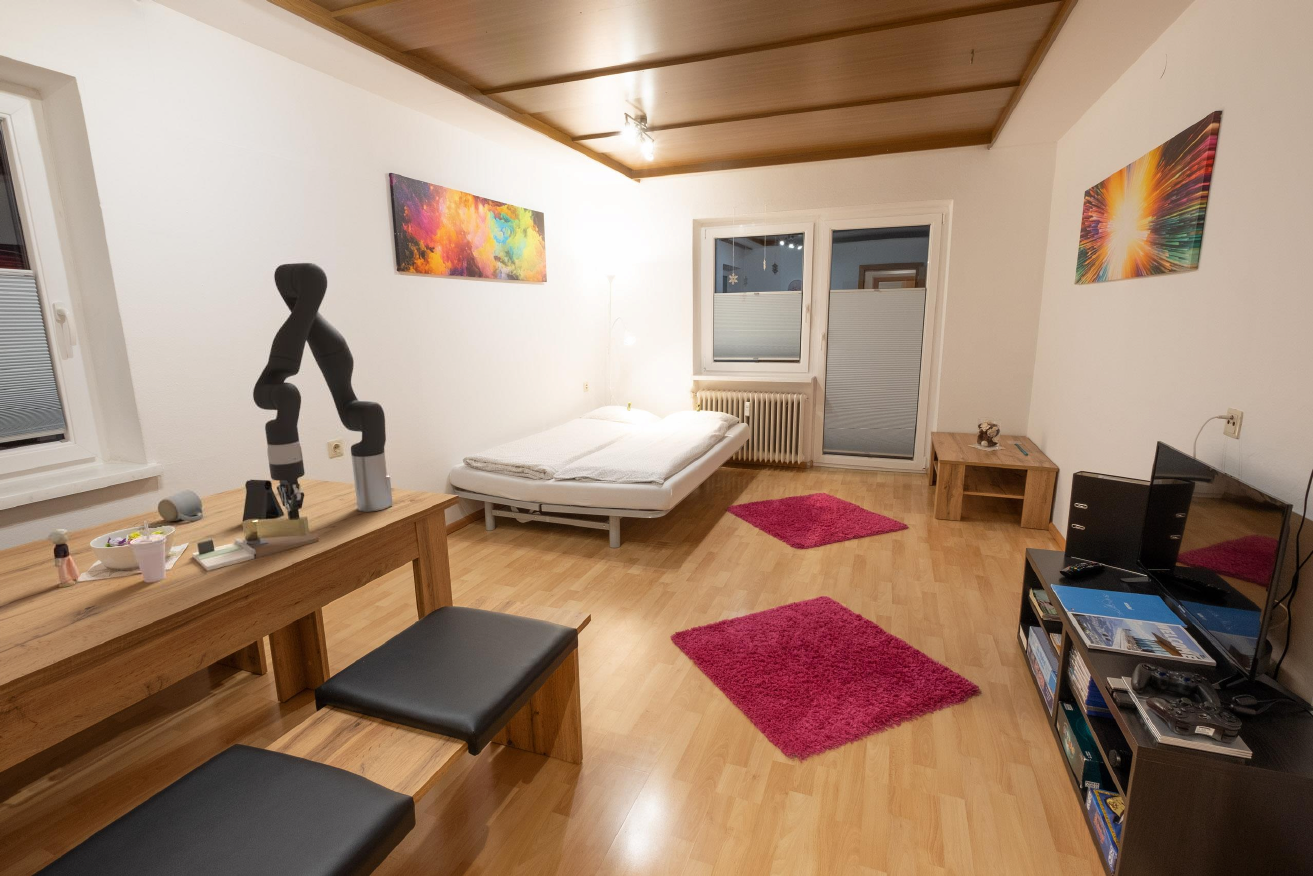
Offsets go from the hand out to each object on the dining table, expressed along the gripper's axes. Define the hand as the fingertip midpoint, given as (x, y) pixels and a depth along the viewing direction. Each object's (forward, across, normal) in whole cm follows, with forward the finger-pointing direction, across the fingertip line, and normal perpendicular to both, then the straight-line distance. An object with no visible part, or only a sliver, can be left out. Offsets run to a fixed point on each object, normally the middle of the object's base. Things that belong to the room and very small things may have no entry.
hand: (294, 523), depth 159 cm
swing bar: (+2, 0, +4) cm, 5 cm away
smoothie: (+5, 0, +30) cm, 30 cm away
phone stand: (+5, +27, 0) cm, 27 cm away
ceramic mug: (+6, +46, +14) cm, 49 cm away
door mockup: (+5, +2, +8) cm, 10 cm away
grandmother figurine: (+5, +12, +43) cm, 45 cm away
